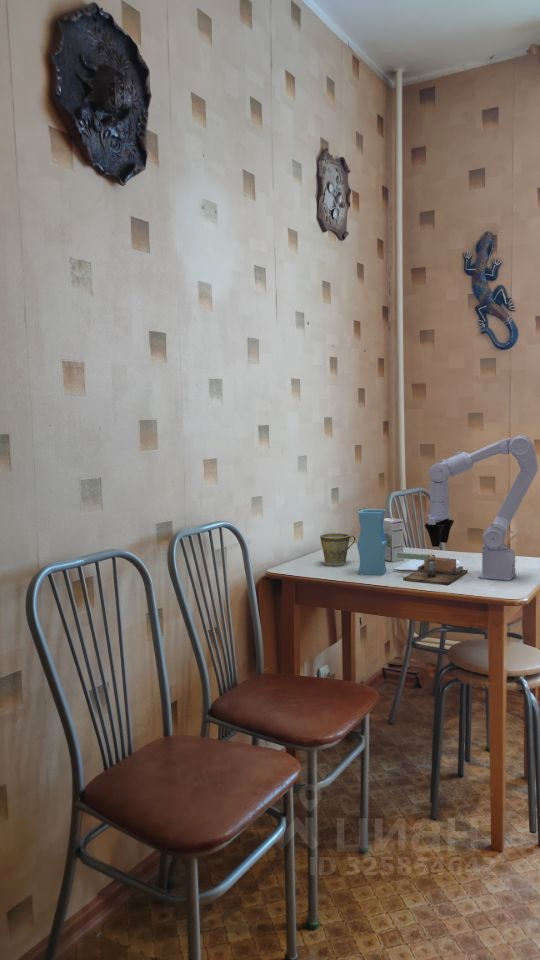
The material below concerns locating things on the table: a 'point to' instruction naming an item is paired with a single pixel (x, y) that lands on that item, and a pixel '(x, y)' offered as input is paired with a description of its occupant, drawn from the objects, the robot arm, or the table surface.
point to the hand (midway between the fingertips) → (439, 544)
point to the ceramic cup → (335, 548)
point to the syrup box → (393, 538)
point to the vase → (372, 542)
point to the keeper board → (433, 580)
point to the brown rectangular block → (443, 564)
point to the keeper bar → (416, 556)
